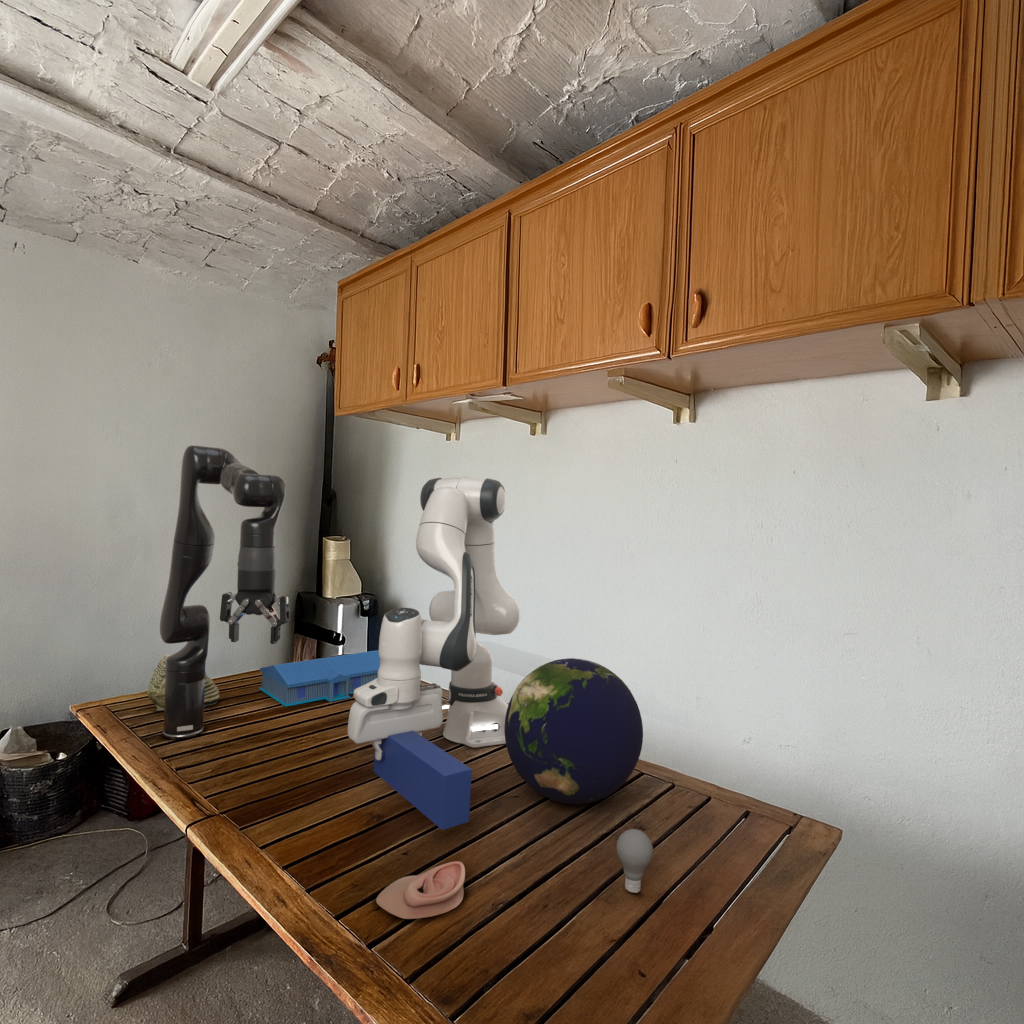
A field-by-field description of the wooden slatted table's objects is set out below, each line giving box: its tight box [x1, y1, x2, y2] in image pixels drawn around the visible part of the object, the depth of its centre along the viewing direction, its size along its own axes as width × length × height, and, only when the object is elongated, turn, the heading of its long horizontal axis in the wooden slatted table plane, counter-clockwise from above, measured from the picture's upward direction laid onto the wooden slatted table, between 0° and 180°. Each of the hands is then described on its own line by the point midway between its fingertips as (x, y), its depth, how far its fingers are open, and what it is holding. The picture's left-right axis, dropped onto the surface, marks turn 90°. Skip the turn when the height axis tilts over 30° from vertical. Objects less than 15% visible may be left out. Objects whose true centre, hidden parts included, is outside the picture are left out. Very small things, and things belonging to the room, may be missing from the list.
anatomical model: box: [375, 860, 466, 920], centre depth 101 cm, size 13×4×12 cm
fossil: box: [147, 654, 221, 712], centre depth 185 cm, size 9×18×15 cm, turn 132°
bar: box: [373, 731, 472, 831], centre depth 123 cm, size 28×6×10 cm, turn 37°
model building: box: [258, 649, 380, 707], centre depth 208 cm, size 39×24×10 cm, turn 132°
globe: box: [504, 657, 644, 805], centre depth 138 cm, size 30×30×30 cm
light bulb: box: [615, 828, 654, 894], centre depth 106 cm, size 6×6×10 cm
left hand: (254, 642), depth 136 cm, fingers open, 8 cm apart
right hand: (395, 755), depth 130 cm, fingers closed on bar, 5 cm apart
